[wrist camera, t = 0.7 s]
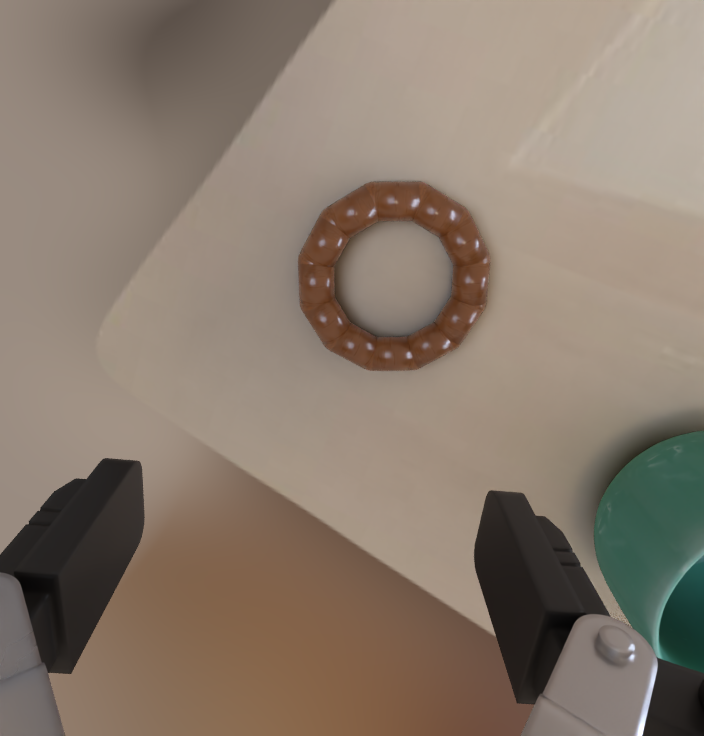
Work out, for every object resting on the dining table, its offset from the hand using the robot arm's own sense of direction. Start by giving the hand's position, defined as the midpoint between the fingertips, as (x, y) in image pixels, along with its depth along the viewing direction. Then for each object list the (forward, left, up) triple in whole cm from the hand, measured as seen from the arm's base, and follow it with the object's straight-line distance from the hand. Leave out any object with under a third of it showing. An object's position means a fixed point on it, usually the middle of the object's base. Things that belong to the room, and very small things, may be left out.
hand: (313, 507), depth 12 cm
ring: (+2, +3, -17) cm, 17 cm away
